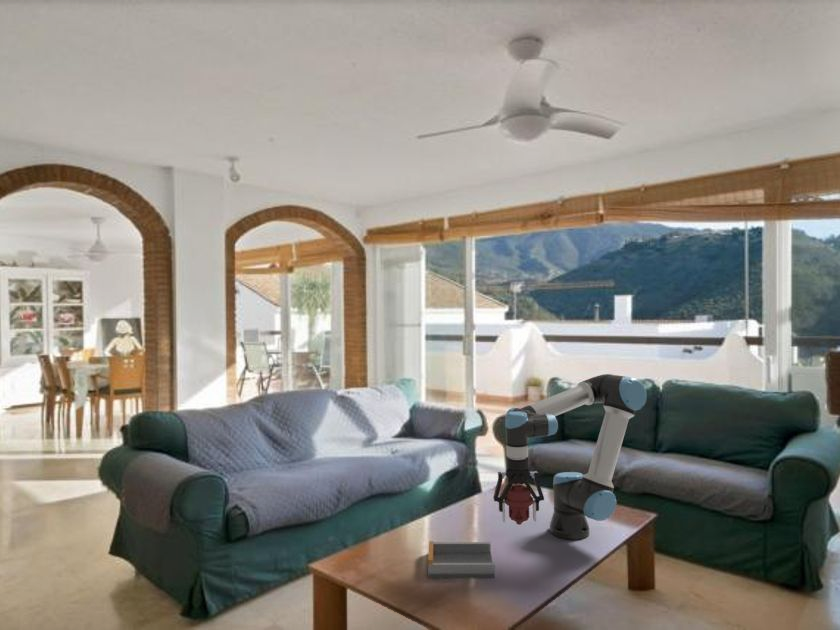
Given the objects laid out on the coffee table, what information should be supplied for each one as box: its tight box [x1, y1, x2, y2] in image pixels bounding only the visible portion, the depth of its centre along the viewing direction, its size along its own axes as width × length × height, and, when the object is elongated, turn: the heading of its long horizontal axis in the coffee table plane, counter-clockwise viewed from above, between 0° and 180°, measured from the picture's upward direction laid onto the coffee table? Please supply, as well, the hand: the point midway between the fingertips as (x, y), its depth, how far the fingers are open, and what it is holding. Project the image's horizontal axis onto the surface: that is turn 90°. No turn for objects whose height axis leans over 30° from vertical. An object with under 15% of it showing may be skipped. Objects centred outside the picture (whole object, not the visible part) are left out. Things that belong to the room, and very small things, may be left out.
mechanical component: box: [503, 484, 534, 525], centre depth 198 cm, size 12×10×10 cm
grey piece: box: [427, 540, 496, 579], centre depth 197 cm, size 22×19×5 cm
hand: (519, 520), depth 199 cm, fingers closed on mechanical component, 10 cm apart
